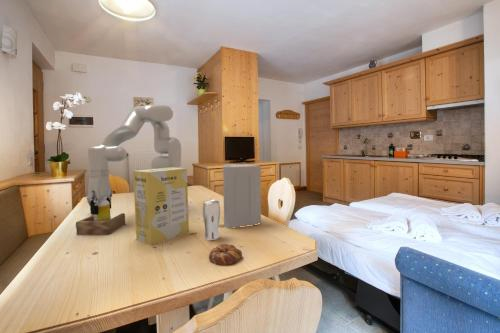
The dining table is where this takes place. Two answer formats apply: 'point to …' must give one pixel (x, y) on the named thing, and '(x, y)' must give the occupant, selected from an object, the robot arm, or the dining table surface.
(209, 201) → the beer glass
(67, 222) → the dining table surface
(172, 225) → the pasta box
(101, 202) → the supplement bottle
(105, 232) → the dock
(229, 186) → the paper bag
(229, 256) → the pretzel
